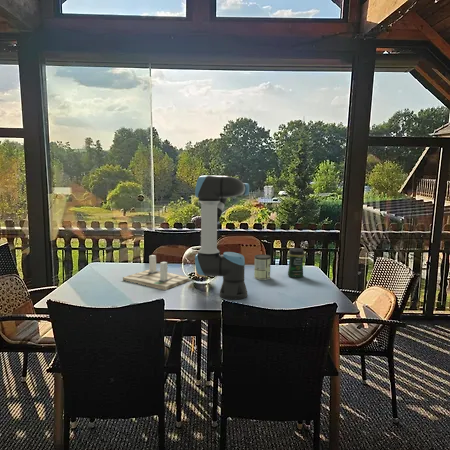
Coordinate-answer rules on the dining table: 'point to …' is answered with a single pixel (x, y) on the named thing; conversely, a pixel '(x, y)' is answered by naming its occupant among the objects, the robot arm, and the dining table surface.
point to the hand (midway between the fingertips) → (205, 241)
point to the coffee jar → (296, 262)
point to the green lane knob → (163, 272)
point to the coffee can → (262, 267)
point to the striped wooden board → (156, 279)
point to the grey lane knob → (152, 264)
